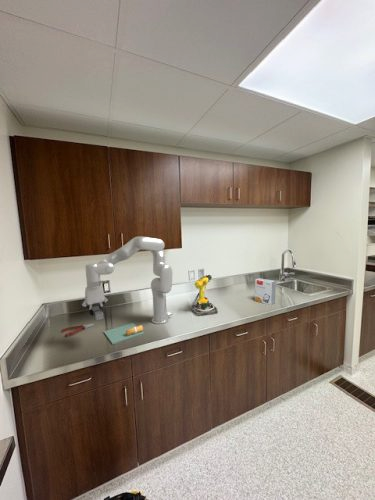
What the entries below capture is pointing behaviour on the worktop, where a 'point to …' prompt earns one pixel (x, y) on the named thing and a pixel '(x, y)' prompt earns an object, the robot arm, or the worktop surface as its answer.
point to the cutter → (97, 313)
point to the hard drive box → (265, 291)
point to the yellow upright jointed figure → (203, 298)
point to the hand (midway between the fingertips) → (96, 313)
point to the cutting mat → (124, 333)
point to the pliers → (78, 329)
